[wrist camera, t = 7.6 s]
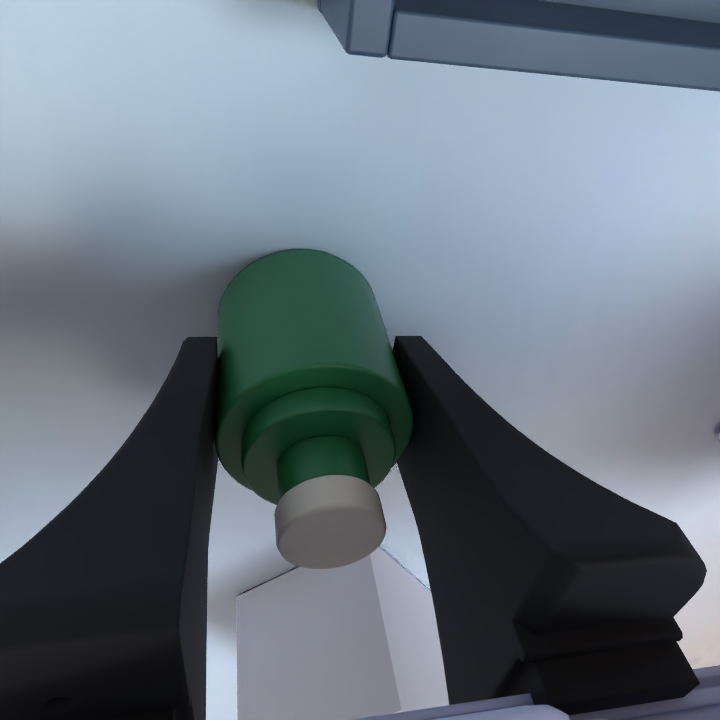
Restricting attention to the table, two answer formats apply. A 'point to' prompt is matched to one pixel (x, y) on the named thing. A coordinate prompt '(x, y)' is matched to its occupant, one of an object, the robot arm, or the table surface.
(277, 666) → the white cube
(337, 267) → the bottle
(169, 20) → the table surface
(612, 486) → the table surface
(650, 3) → the tray
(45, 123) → the table surface
